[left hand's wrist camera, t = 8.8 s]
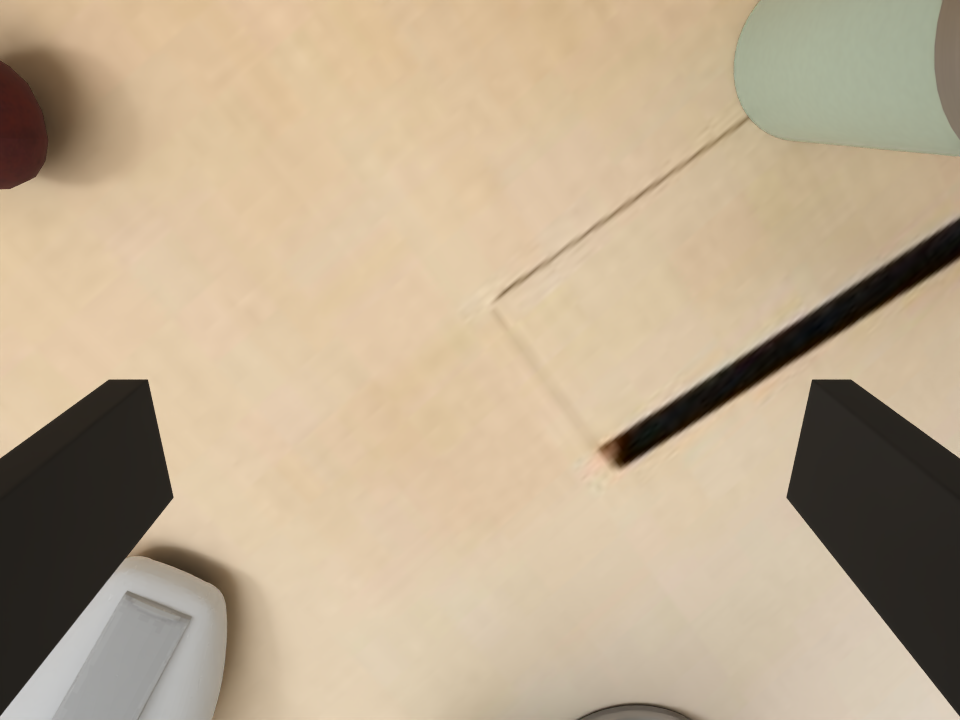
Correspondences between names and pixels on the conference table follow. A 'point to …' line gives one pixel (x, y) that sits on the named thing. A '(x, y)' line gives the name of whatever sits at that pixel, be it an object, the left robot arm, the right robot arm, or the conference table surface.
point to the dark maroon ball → (19, 131)
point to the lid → (948, 61)
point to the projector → (135, 652)
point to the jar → (844, 74)
